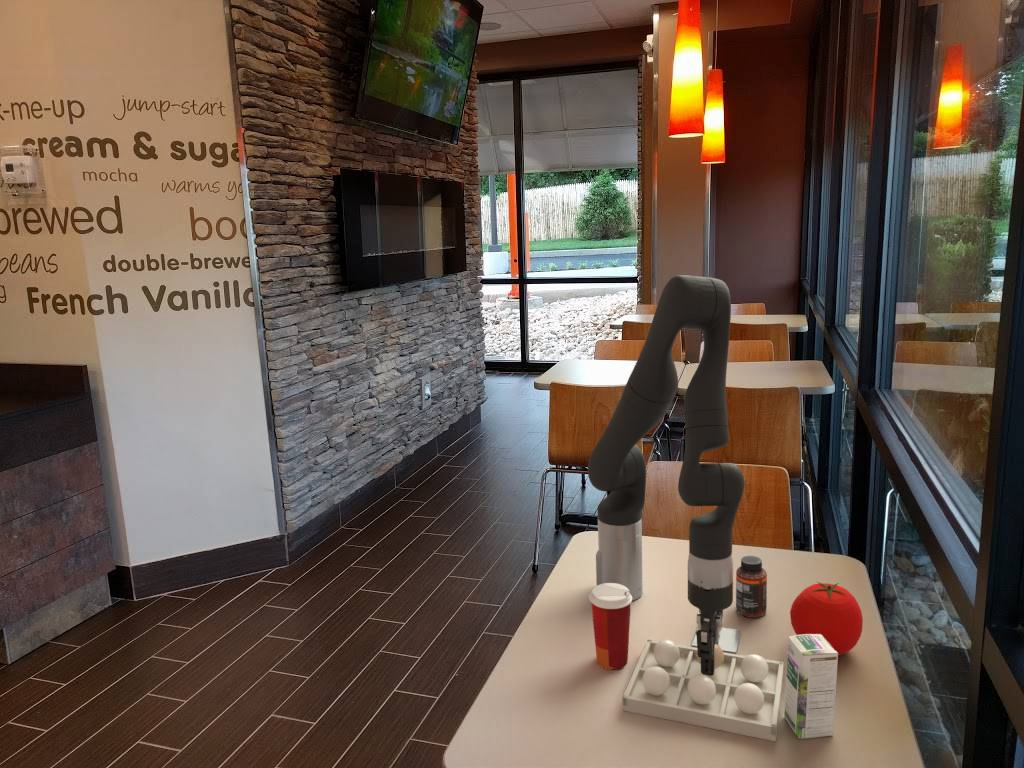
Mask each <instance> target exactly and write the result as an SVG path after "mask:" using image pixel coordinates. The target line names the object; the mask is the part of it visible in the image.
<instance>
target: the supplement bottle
mask: <svg viewBox="0 0 1024 768" xmlns="http://www.w3.org/2000/svg"><path fill="white" fill-rule="evenodd" d="M762 561H763V560H762V558H761V557H758V556H757V555H756V556H755V555H745V556H742V557H741V559H740V562H741V563H740V566H739V567H738V568H737V569H736V572H735V573H736V574H735V575H736V576H735V609H736V611H737V612H738V613H739V615H742V616H744V617H747V618H760V617H762V616H764V615H765V614H766V612H767V603H768V601H767V600H768V597H767V593H768V592H767V590H768V581H767V580H768V574H767V571H766V570H765V569H764V568H763V563H762Z"/></svg>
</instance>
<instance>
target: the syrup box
mask: <svg viewBox="0 0 1024 768" xmlns="http://www.w3.org/2000/svg"><path fill="white" fill-rule="evenodd" d="M786 651H787V653H786V669H785V670H786V671H785V686H784V687H785V688H784V689H785V691H784V695H785V696H784V710H783V711H784V712H783V713H784V714H783V716H784V719H785V721H786V722H787V723H788V725H789V726H790V728H791V730H792V731H793V732H794V734H795V735H796V737H797V738H798V740H803V739H805V740H806V739H814V738H815V739H816V738H822V737H830V736H831V737H832V736H834V727H835V726H834V725H835V724H834V723H835V710H836V696H837V694H836V693H837V682H838V681H837V680H838V679H837V678H838V659H839V655H838V652H837V651H835V650H834V649H833V647H832V646H831V645H830V643H829V642H828V641H827V640H826V639H825V638H824V637H823V636H822V635H821V634H802V635H797V634H795V635H791V636H787V650H786Z"/></svg>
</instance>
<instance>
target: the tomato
mask: <svg viewBox="0 0 1024 768" xmlns="http://www.w3.org/2000/svg"><path fill="white" fill-rule="evenodd" d="M839 584H840V583H839V582H838V583H837V582H836V583H828V582H826V583H825V582H819V581H817V583H813V584H811V585H809V586H807V587H806V588H804V589H803V590H802V591H801V592H800V593H799V594H798V595H797V596H796V597H795V599H794V600H793V602H792V605H791V607H790V610H789V615H790V623H791V627H792V629H793V631H794V633H795V635H802V634H821V635H822V636H823V637H824V638H825V639H826V640H827V641H828V642H829V643H830V645H831V646H832V647H833V649H834V650H835V651H837V652H838V656H839V655H840V656H841V655H844V654H845V653H847V652H850V651H851V650H852V649H854V647H856V645H857V643H858V642H859V640H860V638H861V636H862V632H863V621H864V620H863V612H862V609H861V608H860V607H861V606H860V605H859V602H858V601H857V599H856V597H855V596H854V595H853V594H852V593H851V592H850V591H849V590H848V589H846V588H844V587H843V586H840V585H839Z"/></svg>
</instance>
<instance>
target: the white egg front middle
mask: <svg viewBox="0 0 1024 768" xmlns="http://www.w3.org/2000/svg"><path fill="white" fill-rule="evenodd" d="M687 691H688V694H689V696H690V698H691V699H692V700H693V701H694V702H695V703H697V704H701V705H705V704H708V703H710V702H711V701H712V700H713V699H714V698H715V695H716V687H715V684H714V682H713V681H712V680H711V679H710V678H709V677H708V676H705V675H696V676H694V677H692V678H691V679H690V681H689V682H688V686H687Z"/></svg>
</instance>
